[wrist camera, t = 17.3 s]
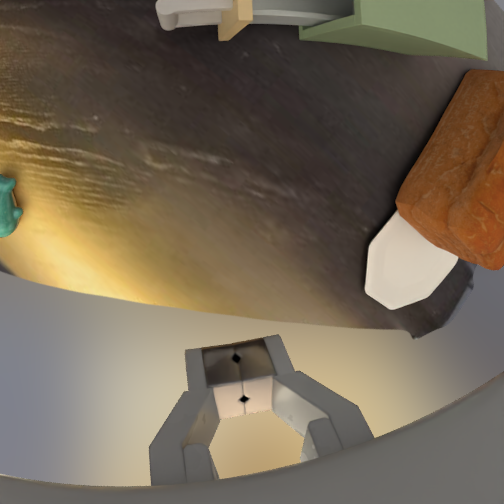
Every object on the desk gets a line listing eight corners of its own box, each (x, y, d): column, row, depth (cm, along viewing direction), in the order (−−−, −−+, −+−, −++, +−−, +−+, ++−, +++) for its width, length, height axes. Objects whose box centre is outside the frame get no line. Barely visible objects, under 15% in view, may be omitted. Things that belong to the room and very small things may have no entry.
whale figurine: (-13, 222, 30) (-27, 235, 27) (-7, 167, 27) (-23, 176, 24) (23, 235, 32) (11, 250, 29) (32, 179, 29) (18, 190, 26)
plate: (470, 234, 48) (476, 238, 47) (402, 316, 54) (406, 321, 52) (423, 165, 39) (430, 168, 38) (337, 271, 45) (341, 277, 44)
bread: (506, 120, 38) (577, 140, 24) (435, 248, 44) (502, 298, 31) (467, 58, 32) (550, 63, 19) (383, 202, 39) (465, 251, 26)
